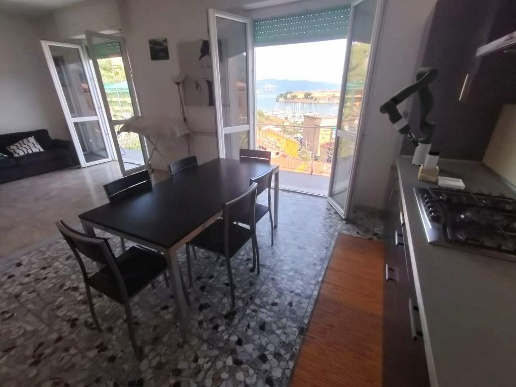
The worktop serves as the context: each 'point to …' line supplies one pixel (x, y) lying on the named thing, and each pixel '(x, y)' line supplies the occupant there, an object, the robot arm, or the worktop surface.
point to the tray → (450, 183)
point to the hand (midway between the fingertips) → (417, 144)
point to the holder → (428, 173)
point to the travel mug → (432, 159)
